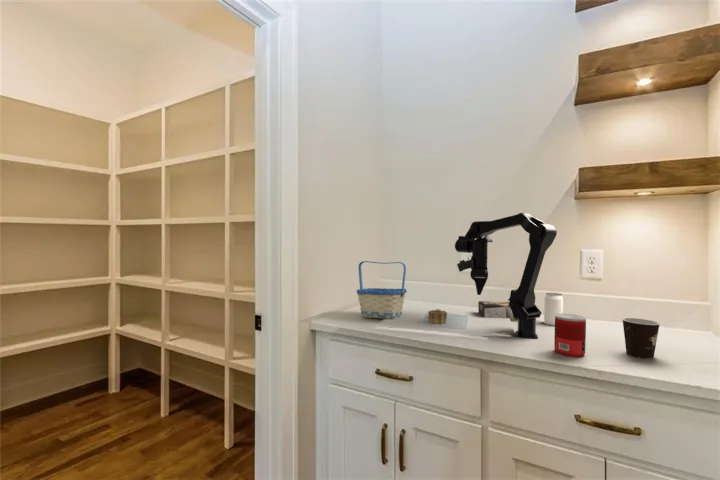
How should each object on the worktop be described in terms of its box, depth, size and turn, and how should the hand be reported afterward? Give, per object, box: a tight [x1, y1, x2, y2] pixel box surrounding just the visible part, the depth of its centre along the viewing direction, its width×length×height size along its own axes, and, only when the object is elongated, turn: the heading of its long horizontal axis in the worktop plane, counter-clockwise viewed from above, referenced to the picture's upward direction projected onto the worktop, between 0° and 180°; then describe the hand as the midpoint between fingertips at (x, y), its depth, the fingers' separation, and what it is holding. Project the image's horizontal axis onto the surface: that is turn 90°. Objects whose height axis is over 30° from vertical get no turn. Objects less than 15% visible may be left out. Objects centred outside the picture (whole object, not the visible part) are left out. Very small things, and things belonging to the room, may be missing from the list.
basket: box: [356, 260, 407, 320], centre depth 151 cm, size 21×16×24 cm
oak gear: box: [428, 309, 447, 324], centre depth 139 cm, size 6×6×4 cm
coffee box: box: [477, 300, 518, 322], centre depth 152 cm, size 9×6×16 cm
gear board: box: [418, 311, 469, 330], centre depth 143 cm, size 24×17×4 cm
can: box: [543, 292, 564, 327], centre depth 143 cm, size 6×6×12 cm
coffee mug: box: [622, 317, 660, 359], centre depth 106 cm, size 12×9×10 cm
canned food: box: [553, 313, 587, 358], centre depth 107 cm, size 8×8×11 cm
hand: (479, 293), depth 142 cm, fingers open, 9 cm apart
